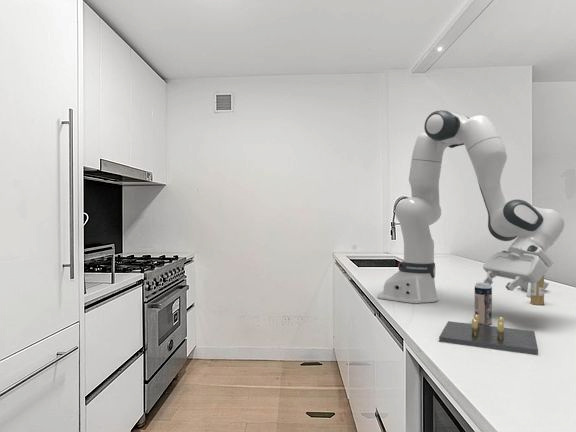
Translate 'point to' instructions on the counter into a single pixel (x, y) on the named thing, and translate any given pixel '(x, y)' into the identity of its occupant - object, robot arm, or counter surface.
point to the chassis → (490, 336)
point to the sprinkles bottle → (537, 292)
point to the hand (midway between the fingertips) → (497, 286)
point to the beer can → (483, 303)
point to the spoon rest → (527, 287)
